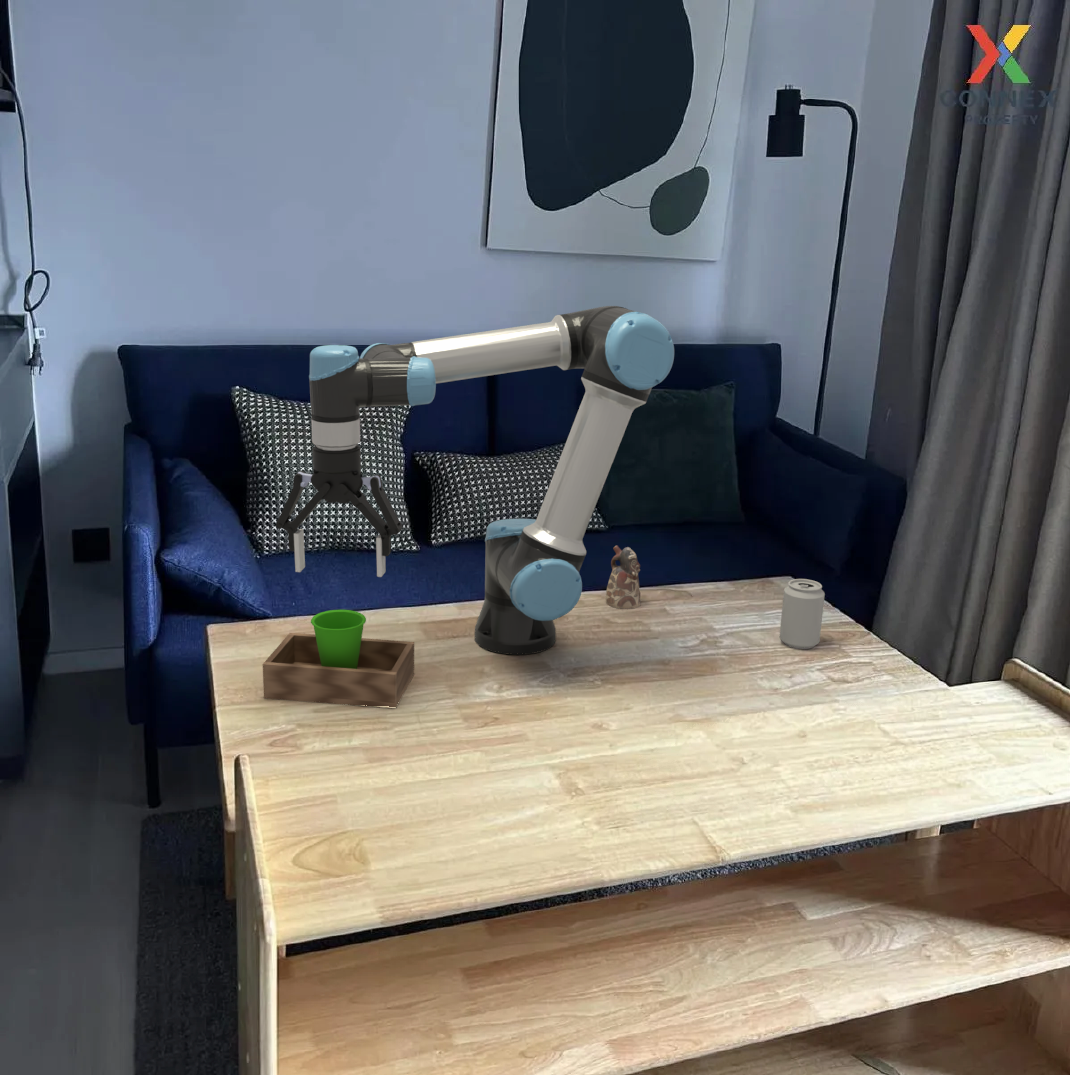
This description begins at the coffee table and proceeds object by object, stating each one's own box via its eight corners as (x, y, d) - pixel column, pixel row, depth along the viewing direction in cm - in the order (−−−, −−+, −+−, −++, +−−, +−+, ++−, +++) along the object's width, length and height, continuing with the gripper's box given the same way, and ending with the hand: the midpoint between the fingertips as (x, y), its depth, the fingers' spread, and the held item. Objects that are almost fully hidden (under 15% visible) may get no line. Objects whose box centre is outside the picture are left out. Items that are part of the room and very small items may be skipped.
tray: (414, 674, 204) (414, 641, 203) (395, 708, 191) (395, 674, 189) (291, 664, 207) (289, 632, 205) (263, 697, 193) (262, 664, 192)
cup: (356, 694, 194) (355, 631, 190) (304, 688, 195) (302, 626, 192) (374, 672, 202) (373, 612, 199) (324, 666, 204) (322, 607, 200)
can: (822, 640, 225) (829, 580, 222) (814, 653, 219) (821, 592, 215) (784, 632, 228) (789, 574, 225) (774, 645, 222) (780, 585, 218)
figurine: (629, 611, 237) (633, 554, 233) (599, 604, 241) (602, 548, 237) (646, 601, 243) (650, 546, 239) (616, 594, 246) (619, 539, 243)
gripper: (418, 443, 189) (420, 568, 195) (268, 436, 192) (274, 560, 198) (408, 453, 182) (410, 583, 188) (251, 446, 184) (259, 574, 191)
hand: (340, 572), depth 193 cm, fingers open, 13 cm apart
